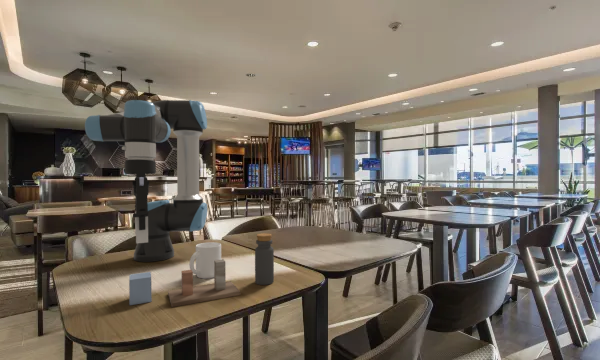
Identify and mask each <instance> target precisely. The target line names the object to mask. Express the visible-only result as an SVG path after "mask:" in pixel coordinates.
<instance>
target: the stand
mask: <svg viewBox="0 0 600 360" xmlns="http://www.w3.org/2000/svg"><path fill="white" fill-rule="evenodd" d="M226 275H227V274H226V260H225V259H223V258H221V260H214V278H213V279H214V282H213V283H209V284H204V285H203V284H202V285H197V286H194V279H193V278H194V274H193V272H192V270H190V269H187V270H186V269H185V270H181V288H178V289H177V288H176V289H172V290H171V289H170V290H167V296H168V299H169V303H170V305H171V308H175V307H176V308H177V307H180V306H184V305H185V306H186V305H190V304H197V303H202V302H208V301H213V300H220V299H225V298H231V297H235V296H241V290H240V289H239V288H238V287H237V286H236V285H235V284H234V283H233V282H232V281H231V280H228V281H226Z"/></svg>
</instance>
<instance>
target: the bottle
mask: <svg viewBox="0 0 600 360" xmlns="http://www.w3.org/2000/svg"><path fill="white" fill-rule="evenodd" d="M272 237H273V235H272V233H266V232H265V233H263V232H262V233H257V234H256V238H257V239H256V242H255V244H257V247H255V248H254V276H255V277H254V283H255V284H256V285H260V286H267V285H271V284H273V283H274V281H275V279H274V278H275V276H274V275H275V272H274V271H275V267H274V266H275V264H274V261H275V260H274V259H275V257H274V256H275V254H274V251H275V250H274V247H273V246H271V245H272V244H273V239H272Z"/></svg>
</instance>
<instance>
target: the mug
mask: <svg viewBox="0 0 600 360" xmlns="http://www.w3.org/2000/svg"><path fill="white" fill-rule="evenodd" d="M221 259H222V243H221V242H216V241H214V242H213V241H212V242H209V241H207V242H202V243H197V244H196V245H195V252H193V254H192V255H191V256H190V259H189V266H188V267H189V270H192V272H193V275H195V276H196V277H197V278H199V279H203V280H204V279H206V280H207V279H214V260H221Z"/></svg>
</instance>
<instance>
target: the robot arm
mask: <svg viewBox="0 0 600 360" xmlns="http://www.w3.org/2000/svg"><path fill="white" fill-rule="evenodd" d="M123 107H124V111H121V112H116V113H112V114H108V115H102V114H97V115H89V116H88V117H87V118H86V119H85V120H84V121H85V122H84V130H85V134H86V136H87V138H88V139H89V140H91V141H95V142H102V143H103V142H124V146H122V147H121V150H122V151H124V157H125V159H126V160H125V161H124V174H126V175H135V178H134V180H132V188H133V196H135V197H134V200H135V203H134V204H135V205H134V208H135V209H134V211H135V212H134V213H133V215H132V216H133V217H132V218H135V219H134V225H135V228H134V229H135V231H134V233H135V244H136V246H135V249H134V253H133V260H134V261H135V262H139V263H142V262H144V263H146V262H158V261H165V260H169V259H171V258H173V257H174V256H175V249H174V246H173V243H172V240H171V238H170V232H190V233H191V232H198V231H201V230H203V228H204V227H205V224H206V222H207V217H208V204H207V203H206V202H204V198H203V197H202V196H201V194H200V137H202V135H204V130H206V129H208V119H207V113H206V110H205V106H204V104H203V102H201V101H198V100H191V99H189V100H187V99H186V100H185V99H183V100H176V99H174V100H171V99H170V100H168V99H163V100H157V101H152V102H151V101H146V100H141V99H132V100H127V101H126V102H125V103H124V106H123ZM172 130H173V131H172ZM171 131H172V132H171ZM171 133H173V134H174V135H175V136H176V139H177V140H176V141H177V142H176V143H177V144H176V146H177V147H176V149H177V150H176V151H177V153H176V154H177V155H176V156H177V158H176V159H177V161H176V162H177V163H176V166H177V169H176V170H177V171H176V172H177V173H176V174H177V175H176V176H177V180H176V182H177V183H176V184H177V185H176V187H177V189H176V191H177V194H176V196H175V197H174V198H173V200H172V201H173V202H172V203H171V202H170V200H169V199H163V200H155V201H150V202H148V196H149V188H150V180H148V177H147V175H154V174H156V173H157V165H156V164H157V162H156V160H155V159H156V158H157V144H158V143H160V144H161V143H163V142H166V141H167V140H168V139H169V138H170V137H171ZM156 143H157V144H156Z"/></svg>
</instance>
